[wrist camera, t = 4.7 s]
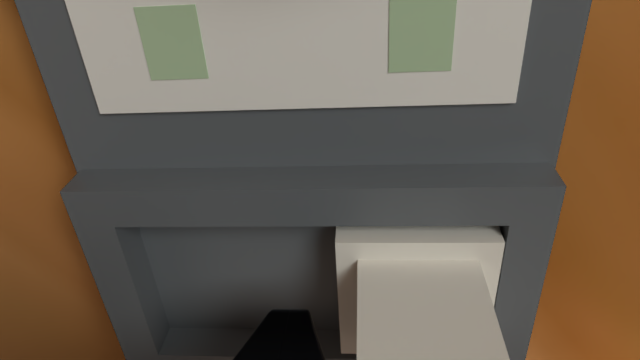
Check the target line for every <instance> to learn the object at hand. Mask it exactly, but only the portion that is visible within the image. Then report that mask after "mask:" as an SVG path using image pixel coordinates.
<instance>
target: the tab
mask: <svg viewBox="0 0 640 360" xmlns="http://www.w3.org/2000/svg"><path fill="white" fill-rule="evenodd" d="M504 246H505V241H504V239H503V236H502V234H501V231H500V228H499V226H336V237H335V251H336V270H337V289H338V307H339V326H340V344H341V353H343V354H357V360H510V359H509V355H508V352H507V349H506V346H505V342H504V339H503V336H502V333H501V329H500V326H499V323H498V319H497V316H496V313H495V310H494V304H495V298H496V292H497V286H498V281H499V275H500V269H501V263H502V258H503V252H504Z"/></svg>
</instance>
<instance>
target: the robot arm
mask: <svg viewBox="0 0 640 360" xmlns="http://www.w3.org/2000/svg"><path fill="white" fill-rule="evenodd" d="M233 360H325V357H324V354H323V350H322V347H321V344H320V341H319V338H318V335H317V331H316V328H315V325H314V322H313V319H312V316H311V313H310V311H309V310H308V309H272V310H270V311H269V312H268V314H267V315H266V316H265V318H264V319H263V320H262V321H261V323H260V324H259V325H258V327H257V328H256V329H255V331H254V332H253V333H252V335H251V336H250V337H249V339H248V340H247V341H246V343H245V344H244V345H243V347H242V348H241V349H240V350H239V352H238V353H237V354H236V356H235V357H234V358H233Z"/></svg>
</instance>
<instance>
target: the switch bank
mask: <svg viewBox="0 0 640 360" xmlns="http://www.w3.org/2000/svg"><path fill="white" fill-rule="evenodd" d="M14 1H15V4H16V6H17V9H18V12H19V15H20V17H21V20H22V23H23V26H24V28H25V31H26V34H27V37H28V39H29V42H30V45H31V48H32V50H33V53H34V56H35V58H36V61H37V64H38V67H39V69H40V72H41V75H42V78H43V80H44V83H45V86H46V89H47V91H48V94H49V97H50V100H51V102H52V105H53V108H54V111H55V113H56V116H57V119H58V122H59V124H60V127H61V130H62V132H63V135H64V138H65V141H66V143H67V146H68V149H69V152H70V154H71V157H72V160H73V163H74V165H75V168H76V171H77V174H76V175H75V176H74V178H73V179H72V180H71V181H70V182H69V183H68V184H67V185H66V186H65V187H64V188H63V189H62V190H61V191H60V194H61V196H62V199H63V201H64V204H65V207H66V209H67V212H68V214H69V217H70V219H71V222H72V224H73V227H74V229H75V232H76V234H77V237H78V239H79V242H80V244H81V247H82V250H83V252H84V255H85V257H86V260H87V262H88V265H89V267H90V270H91V272H92V275H93V277H94V280H95V282H96V285H97V287H98V290H99V292H100V295H101V298H102V300H103V303H104V305H105V308H106V310H107V313H108V315H109V318H110V320H111V323H112V325H113V328H114V330H115V333H116V335H117V338H118V340H119V343H120V346H121V348H122V351H123V353H124V356H125V358H126V360H233V358H234V357H235V356H236V354H237V353H238V352H239V350H240V349H241V348H242V347H243V345H244V344H245V343H246V341H247V340H248V339H249V337H250V336H251V335H252V333H253V332H254V331H255V329H256V328H257V327H258V325H259V324H260V323H261V321H262V320H263V319H264V318H265V316H266V315H267V314H268V312H269V311H270V310H272V309H308V310H309V311H310V313H311V316H312V319H313V322H314V325H315V328H316V331H317V335H318V338H319V341H320V344H321V347H322V350H323V354H324V357H325V360H357V354H343V353H341V344H340V326H339V307H338V289H337V270H336V251H335V237H336V226H499V228H500V231H501V234H502V236H503V239H504V241H505V246H504V252H503V258H502V263H501V269H500V275H499V281H498V286H497V292H496V298H495V304H494V310H495V313H496V316H497V319H498V323H499V326H500V329H501V333H502V336H503V339H504V342H505V346H506V349H507V352H508V355H509V359H510V360H525V358H526V354H527V350H528V346H529V341H530V337H531V333H532V329H533V325H534V320H535V316H536V312H537V308H538V304H539V299H540V295H541V291H542V287H543V283H544V278H545V274H546V270H547V266H548V262H549V257H550V253H551V249H552V245H553V241H554V236H555V232H556V228H557V224H558V220H559V215H560V211H561V207H562V203H563V199H564V194H565V190H566V185H565V184H564V182H563V181H562V179H561V177H560V176H559V174H558V173H557V171H556V170H555V167H556V162H557V158H558V153H559V148H560V144H561V139H562V135H563V130H564V126H565V121H566V117H567V112H568V107H569V103H570V98H571V94H572V89H573V85H574V80H575V75H576V71H577V66H578V62H579V57H580V53H581V48H582V44H583V39H584V34H585V30H586V25H587V21H588V16H589V12H590V7H591V2H592V0H14Z"/></svg>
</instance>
